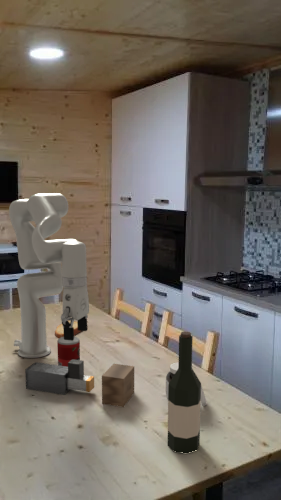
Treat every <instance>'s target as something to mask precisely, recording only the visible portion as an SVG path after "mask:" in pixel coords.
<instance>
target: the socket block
mask: <svg viewBox="0 0 281 500" xmlns="http://www.w3.org/2000/svg"><path fill="white" fill-rule="evenodd" d="M134 394H135V366H134V365H127V364H120V363H113V364H112V365H111V366H109V368H108V369H107V370H106V371H105V372H104V373H103V374H102V375H101V404H102V405H106V406H107V405H108V406H114V407H119V408H125V406H126V405H127V403H128V402H129V401H130V399H131V398H132V397H133V395H134Z"/></svg>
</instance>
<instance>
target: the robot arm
mask: <svg viewBox="0 0 281 500" xmlns="http://www.w3.org/2000/svg"><path fill="white" fill-rule="evenodd" d="M68 212H69V201H68V199H67V198H66V196H65V195H64V194H62V193H57V192H56V193H55V192H53V193H50V192H49V193H45V192H43V193H35V194H32V195H30V197H28V198H24V199H23V198H22V199H16V200H13V201H12V202H11V203H10V205H9V209H8V214H9V215H8V217H9V220H10V224H11V226H12V228H13V230H14V233H15V239H16V247H17V248H16V249H17V254H18V255H17V257H18V262H19V266H20V268H21V269H22V270H26V271H27V270H28V271H31V270H33V271H34V270H42V269H46V270H47V271H43V272H41V271H40V272H32V273H25V274H23V275H21V276H19V277H18V279H17V282H16V286H17V292H18V298H19V307H20V308H19V309H20V329H21V331H20V332H21V339H14V342H13V346H14V347H19V348H18V350H17V354H18V356H20V357H22V358H26V359H37V358H41V357H42V358H43V357H45V356H47V355H49V354H50V353H51V351H52V350H51V349H52V348H51V347H50V346H49V345H47V314H46V313H47V312H46V311H47V309H46V306H45V304H43V302H42V301H41V300H40V298H44V297H51V296H52V297H53V296H57V295H60V294H61V293H62V314H61V315H60V321H61V324H62V325H63V329H64V340H71V341H73V340H74V337H75V336H74V327H73V323H74V321H76V322H77V323H78V330H79V331H81V332H87V331H88V314H89V313H90V304H89V303H90V299H89V289H88V279H87V278H88V274H87V273H88V271H87V246H86V244H85V243H84V242H81V241H79V240H78V239H75V238H65V239H64V238H63V239H62V238H61V239H60V238H59V239H47V238H49V237H51V236H52V235H54V234H56V233H58V231H60V229H61V227H62V222H63V220H62V218H63V217H65V216H66V215H67V213H68ZM32 222H34V224H35V225H36V226H34V225H33V224H32ZM46 239H47V240H46ZM68 320H69V321H71V322H70V323H69V321H68Z"/></svg>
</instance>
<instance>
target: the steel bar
mask: <svg viewBox="0 0 281 500" xmlns="http://www.w3.org/2000/svg"><path fill="white" fill-rule="evenodd" d="M84 362H85V361H84V360H81V359H80V360H74V359H72V360H71V361H70V362H68V375H67V376H66V389H70V390H73V391H80V392H86V393H91V391H93V390H94V388H95V376H94V375H93V376H92V375H85V372H84V371H85V370H84V369H85V365H84V364H85V363H84Z"/></svg>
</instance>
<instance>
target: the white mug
mask: <svg viewBox="0 0 281 500" xmlns="http://www.w3.org/2000/svg"><path fill="white" fill-rule="evenodd" d="M178 366H179V361H177V362H174V363H171V364H170V365H169V371H168V372H167V373H166V377H165V396H166V400H168V384H169V383H170V381H171V379H172V378H173V376H174V375H175V373H176V371H177V370H178ZM205 395H206V394H205V392H204V390H203V385H201V406H203V407H204V406H207V405H208V403H207V399H206V396H205Z"/></svg>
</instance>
